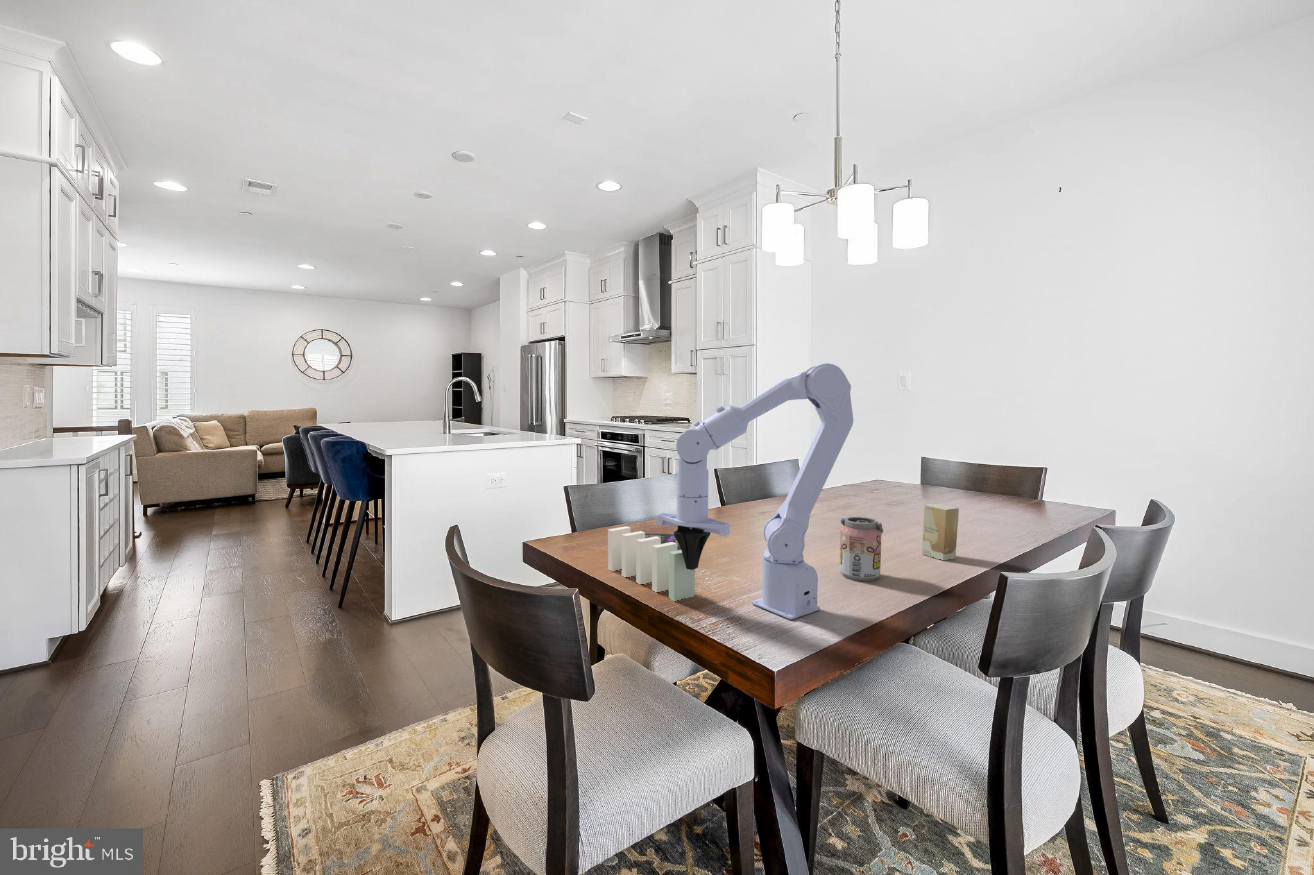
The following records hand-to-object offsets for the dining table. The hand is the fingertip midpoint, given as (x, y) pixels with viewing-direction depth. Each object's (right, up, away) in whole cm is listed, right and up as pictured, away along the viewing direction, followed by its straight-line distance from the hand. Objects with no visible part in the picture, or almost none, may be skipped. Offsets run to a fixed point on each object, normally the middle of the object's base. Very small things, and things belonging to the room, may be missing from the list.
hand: (692, 568), depth 103 cm
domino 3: (-8, -6, +12) cm, 15 cm away
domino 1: (-15, -5, +20) cm, 26 cm away
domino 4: (-5, -6, +7) cm, 11 cm away
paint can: (+37, -6, +16) cm, 41 cm away
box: (-6, -5, +32) cm, 33 cm away
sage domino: (-2, -6, +3) cm, 7 cm away
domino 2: (-11, -5, +16) cm, 20 cm away
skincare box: (+60, -4, +30) cm, 67 cm away
